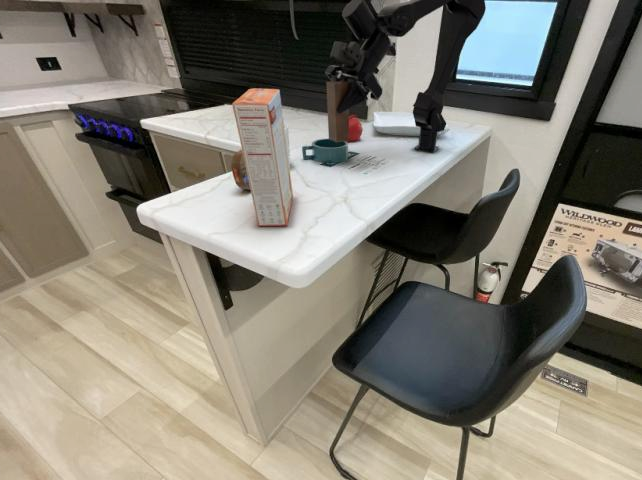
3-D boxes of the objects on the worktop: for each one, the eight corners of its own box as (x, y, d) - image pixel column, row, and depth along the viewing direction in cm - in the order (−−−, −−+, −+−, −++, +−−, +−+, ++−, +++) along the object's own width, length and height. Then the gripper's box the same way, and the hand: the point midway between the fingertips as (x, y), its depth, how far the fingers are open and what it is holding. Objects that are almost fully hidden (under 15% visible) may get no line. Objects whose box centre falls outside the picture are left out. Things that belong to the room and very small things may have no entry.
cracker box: (266, 197, 73) (248, 87, 60) (294, 197, 74) (281, 88, 61) (255, 227, 63) (229, 100, 49) (287, 227, 63) (270, 101, 50)
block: (341, 137, 91) (340, 81, 83) (349, 140, 89) (348, 83, 80) (328, 138, 89) (326, 81, 81) (336, 142, 87) (334, 83, 79)
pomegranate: (367, 142, 112) (368, 111, 106) (342, 146, 107) (341, 113, 101) (352, 135, 118) (352, 106, 112) (327, 139, 113) (326, 108, 107)
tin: (247, 195, 74) (239, 156, 69) (234, 194, 74) (225, 155, 69) (275, 173, 85) (270, 138, 80) (263, 172, 86) (257, 137, 80)
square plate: (448, 140, 118) (451, 128, 115) (372, 137, 117) (373, 125, 115) (437, 123, 139) (439, 112, 136) (372, 120, 138) (373, 110, 136)
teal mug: (342, 153, 101) (342, 137, 98) (352, 164, 94) (352, 147, 91) (300, 156, 97) (298, 139, 95) (306, 167, 90) (305, 149, 87)
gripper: (329, 25, 81) (294, 80, 83) (374, 27, 70) (332, 91, 72) (356, 63, 90) (323, 112, 92) (399, 70, 79) (361, 127, 81)
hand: (333, 110), depth 84 cm, fingers closed on block, 4 cm apart
